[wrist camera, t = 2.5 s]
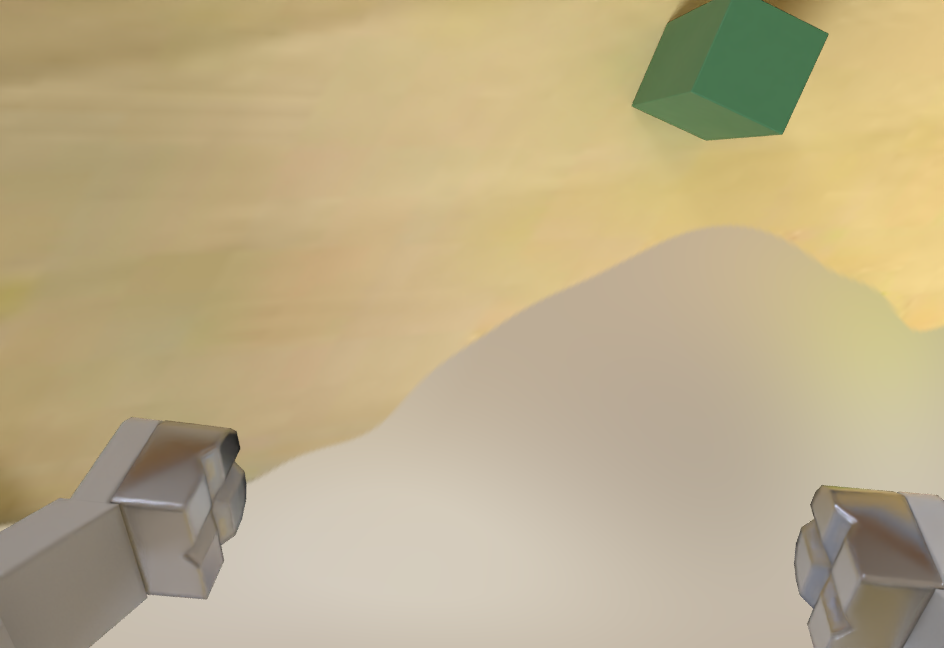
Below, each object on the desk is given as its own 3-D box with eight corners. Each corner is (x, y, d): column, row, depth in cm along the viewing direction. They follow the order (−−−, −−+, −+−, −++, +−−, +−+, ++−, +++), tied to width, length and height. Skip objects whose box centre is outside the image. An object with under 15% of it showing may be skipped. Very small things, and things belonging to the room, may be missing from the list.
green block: (631, 106, 45) (690, 91, 37) (667, 22, 45) (737, -13, 36) (706, 141, 46) (783, 135, 37) (743, 59, 46) (829, 33, 37)
